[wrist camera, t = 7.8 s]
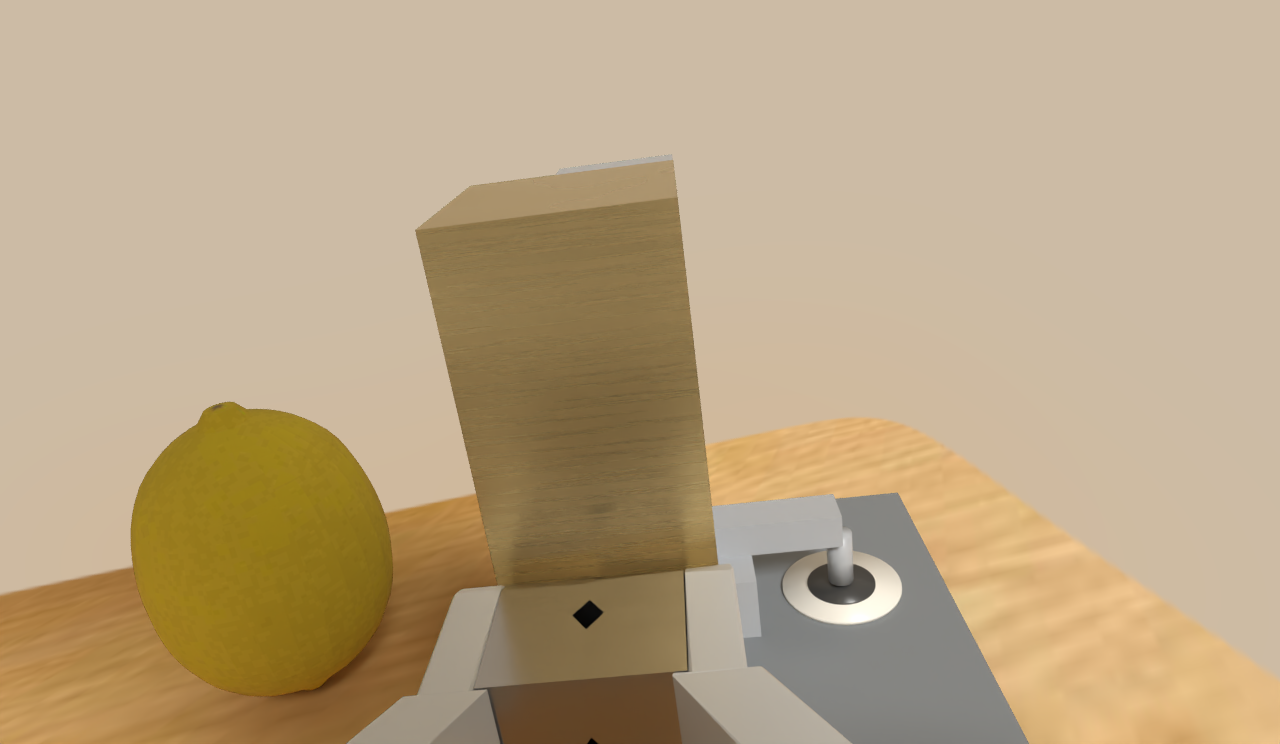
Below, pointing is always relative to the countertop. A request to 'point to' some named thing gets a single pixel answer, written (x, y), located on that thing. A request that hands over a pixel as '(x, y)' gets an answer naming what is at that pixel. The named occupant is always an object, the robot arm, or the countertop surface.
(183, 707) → the countertop surface
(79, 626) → the countertop surface
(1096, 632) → the countertop surface
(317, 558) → the lemon
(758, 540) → the board
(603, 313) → the brass leg
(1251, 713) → the countertop surface
